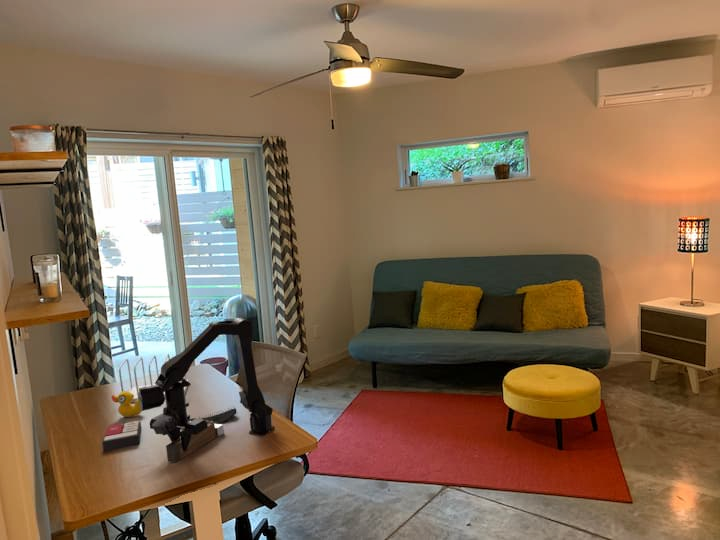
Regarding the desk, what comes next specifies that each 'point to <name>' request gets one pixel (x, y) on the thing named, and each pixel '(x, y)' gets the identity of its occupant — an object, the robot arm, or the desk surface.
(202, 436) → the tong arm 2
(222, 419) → the hairbrush
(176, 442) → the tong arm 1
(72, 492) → the desk surface
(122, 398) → the duckling
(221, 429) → the tong hinge block
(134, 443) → the calculator
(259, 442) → the desk surface
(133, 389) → the file sorter
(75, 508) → the desk surface
